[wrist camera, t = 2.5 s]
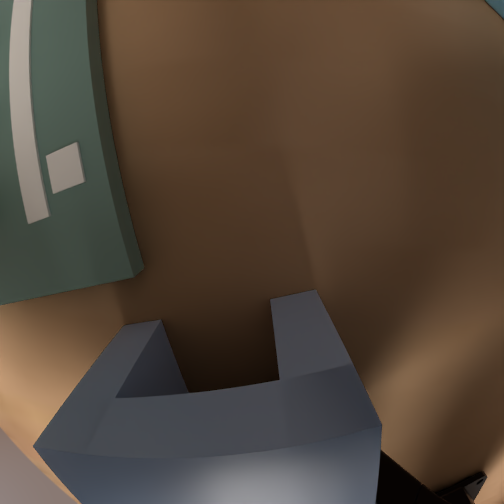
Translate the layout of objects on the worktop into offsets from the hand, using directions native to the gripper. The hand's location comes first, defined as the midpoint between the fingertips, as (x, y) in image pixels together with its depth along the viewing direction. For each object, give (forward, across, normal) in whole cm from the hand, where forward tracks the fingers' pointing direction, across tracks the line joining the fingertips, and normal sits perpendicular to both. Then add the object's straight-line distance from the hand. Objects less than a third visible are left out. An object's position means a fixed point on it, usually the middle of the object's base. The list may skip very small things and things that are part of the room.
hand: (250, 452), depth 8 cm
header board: (+1, +6, -12) cm, 13 cm away
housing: (+1, 0, 0) cm, 1 cm away
